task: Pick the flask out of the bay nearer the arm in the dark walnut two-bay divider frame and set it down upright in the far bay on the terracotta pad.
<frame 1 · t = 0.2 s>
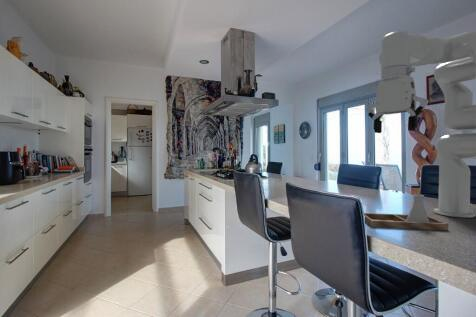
hand: (394, 131, 80), 30 cm above the kitchen island, tool pointing down, fingers open, 9 cm apart
flask: (417, 225, 88), resting in divider frame
divider frame: (400, 223, 89), on the kitchen island
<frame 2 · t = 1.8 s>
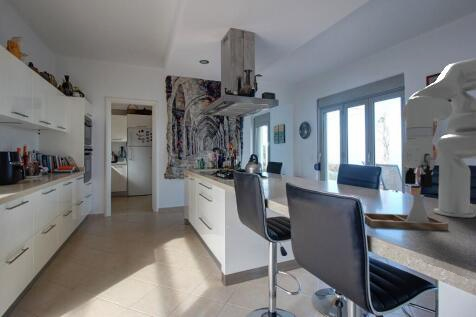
hand: (417, 185, 87), 13 cm above the kitchen island, tool pointing down, fingers open, 9 cm apart
nothing on the kitchen island moved.
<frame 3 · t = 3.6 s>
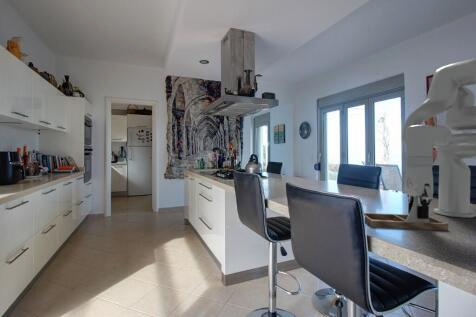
hand: (418, 215, 88), 3 cm above the kitchen island, tool pointing down, fingers closed on flask, 4 cm apart
flask: (417, 225, 88), resting in divider frame, touching gripper
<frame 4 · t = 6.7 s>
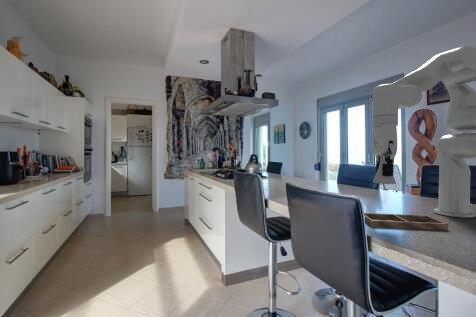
hand: (384, 174, 89), 17 cm above the kitchen island, tool pointing down, fingers closed on flask, 4 cm apart
flask: (384, 184, 89), point 13 cm above the kitchen island, touching gripper
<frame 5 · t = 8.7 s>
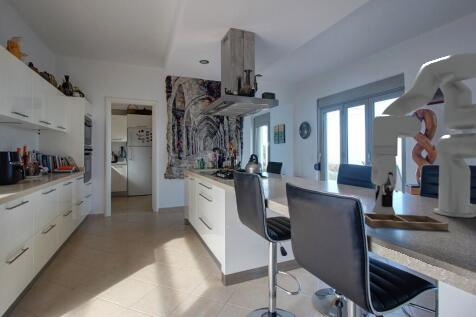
hand: (383, 204, 89), 6 cm above the kitchen island, tool pointing down, fingers closed on flask, 4 cm apart
flask: (383, 213, 89), point 3 cm above the kitchen island, touching gripper
when the fingers open (4 cm above the kitchen island, at t = 10.1 s): flask drops 1 cm, resting on divider frame.
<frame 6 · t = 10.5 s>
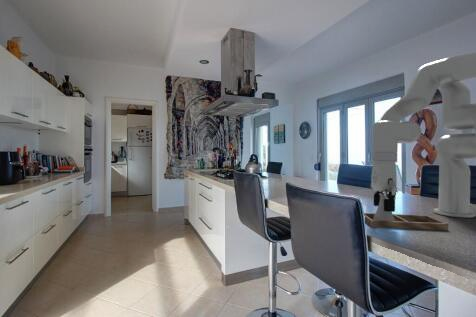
hand: (383, 208, 89), 5 cm above the kitchen island, tool pointing down, fingers open, 8 cm apart
flask: (383, 223, 90), resting on divider frame
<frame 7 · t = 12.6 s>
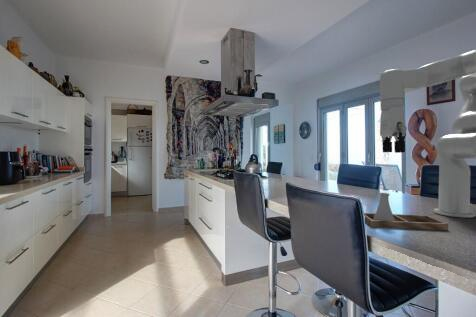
hand: (393, 152, 95), 24 cm above the kitchen island, tool pointing down, fingers open, 9 cm apart
nothing on the kitchen island moved.
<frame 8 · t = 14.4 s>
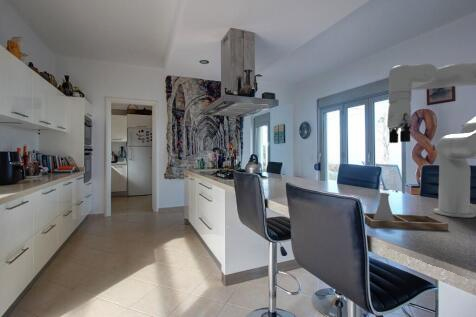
hand: (399, 142, 102), 28 cm above the kitchen island, tool pointing down, fingers open, 9 cm apart
nothing on the kitchen island moved.
at the end: flask 0.2 cm from the target spot on the divider frame, point 0.0 cm above the divider frame's base; flask tilted 0°; the gripper is holding nothing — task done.
